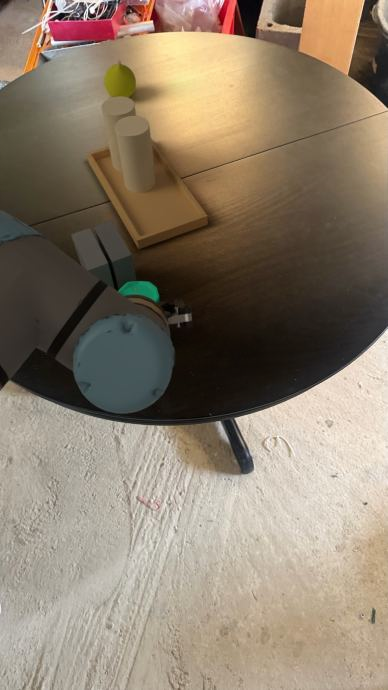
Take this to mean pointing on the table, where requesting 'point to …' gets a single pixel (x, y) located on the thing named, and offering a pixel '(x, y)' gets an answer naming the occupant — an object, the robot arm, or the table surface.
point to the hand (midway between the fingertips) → (141, 306)
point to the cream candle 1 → (112, 114)
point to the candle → (140, 290)
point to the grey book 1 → (92, 256)
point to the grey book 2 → (116, 254)
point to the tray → (150, 200)
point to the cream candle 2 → (136, 153)
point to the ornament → (120, 81)
